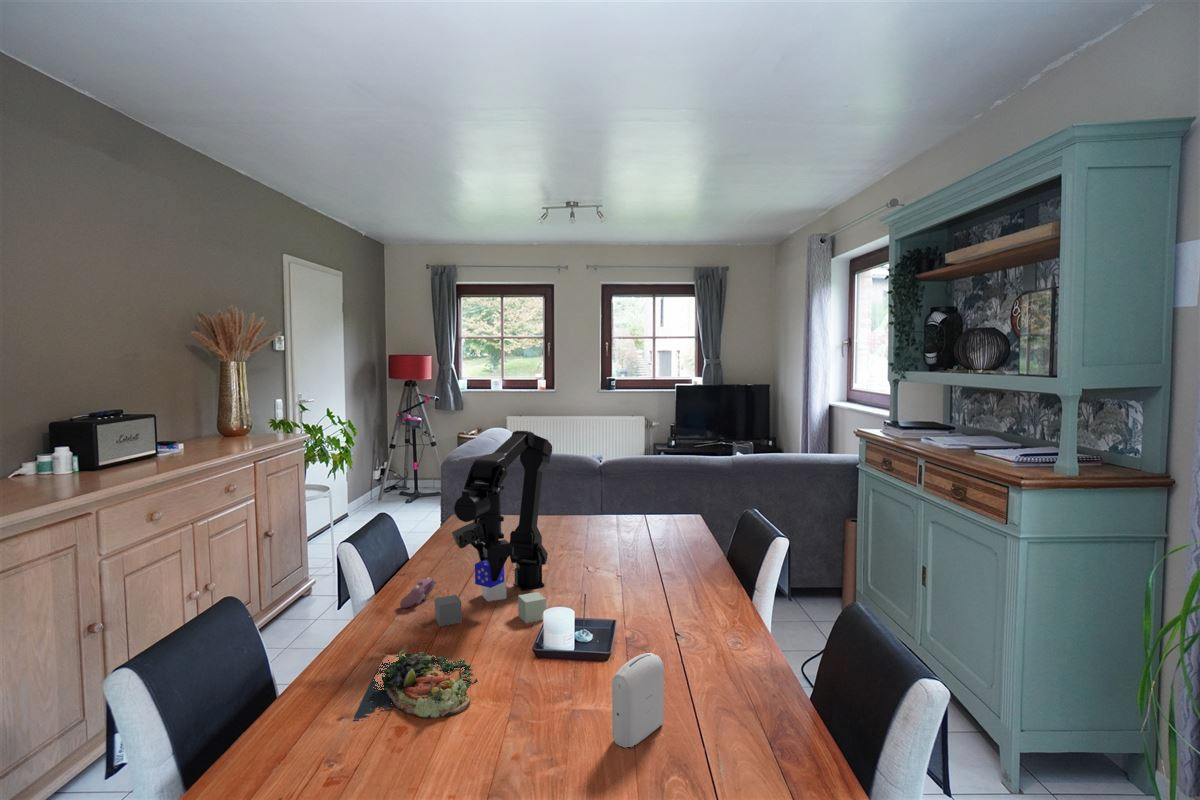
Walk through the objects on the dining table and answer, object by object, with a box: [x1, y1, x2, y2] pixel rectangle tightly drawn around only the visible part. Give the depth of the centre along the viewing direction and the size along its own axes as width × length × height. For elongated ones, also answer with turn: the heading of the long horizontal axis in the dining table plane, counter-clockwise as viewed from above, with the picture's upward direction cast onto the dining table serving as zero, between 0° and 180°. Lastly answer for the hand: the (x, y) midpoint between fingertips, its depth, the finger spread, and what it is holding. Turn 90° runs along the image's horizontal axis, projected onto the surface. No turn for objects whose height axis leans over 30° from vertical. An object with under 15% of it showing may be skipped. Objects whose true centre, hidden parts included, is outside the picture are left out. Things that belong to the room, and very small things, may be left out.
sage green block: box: [517, 591, 547, 624], centre depth 151 cm, size 5×5×5 cm
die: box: [474, 559, 505, 588], centre depth 153 cm, size 5×5×5 cm
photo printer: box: [611, 652, 665, 748], centre depth 104 cm, size 10×4×12 cm, turn 140°
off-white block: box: [481, 577, 507, 602], centre depth 165 cm, size 5×5×5 cm
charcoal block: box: [434, 594, 463, 627], centre depth 149 cm, size 5×5×5 cm
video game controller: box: [399, 577, 437, 609], centre depth 161 cm, size 10×5×7 cm, turn 169°
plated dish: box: [352, 649, 478, 723], centre depth 119 cm, size 35×28×7 cm
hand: (489, 576), depth 153 cm, fingers closed on die, 7 cm apart
